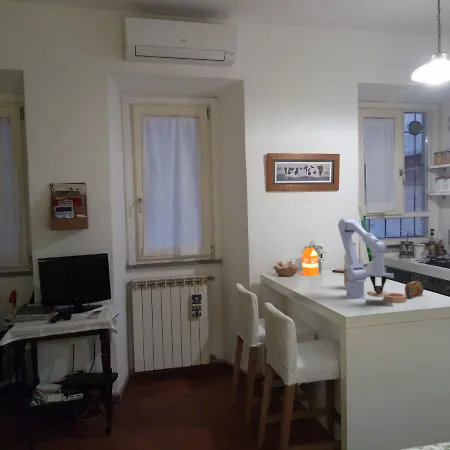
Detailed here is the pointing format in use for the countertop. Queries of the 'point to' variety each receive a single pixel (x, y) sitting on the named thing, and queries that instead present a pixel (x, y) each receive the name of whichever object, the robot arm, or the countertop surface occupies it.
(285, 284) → the countertop surface
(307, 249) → the orange juice
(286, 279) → the countertop surface
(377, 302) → the mat
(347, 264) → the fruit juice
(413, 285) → the tin
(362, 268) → the robot arm
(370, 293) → the lid
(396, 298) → the bowl
